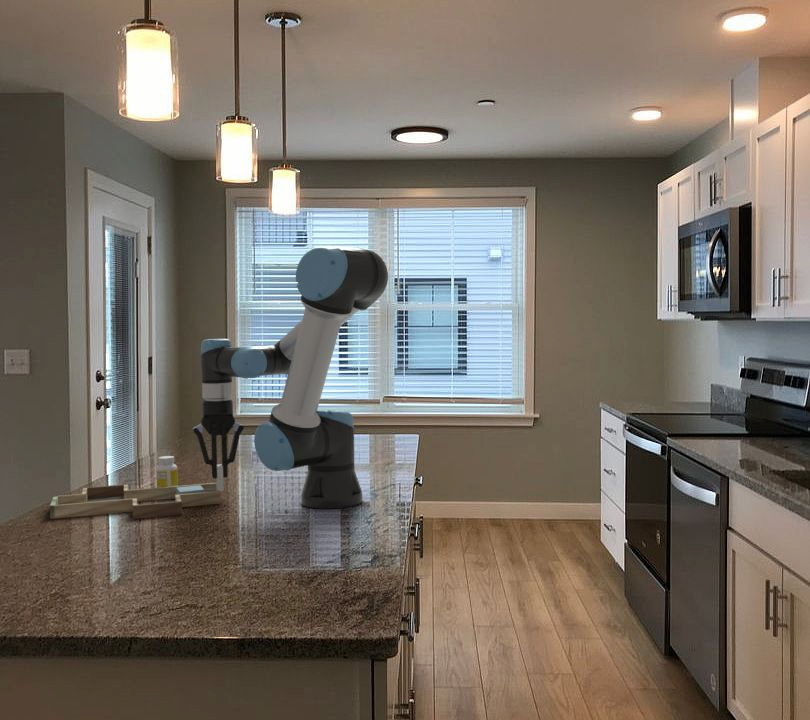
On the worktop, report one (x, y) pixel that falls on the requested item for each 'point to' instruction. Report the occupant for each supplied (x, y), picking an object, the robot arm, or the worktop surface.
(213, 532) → the worktop surface
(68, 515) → the wooden frame tray
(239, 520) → the worktop surface
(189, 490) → the block
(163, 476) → the supplement bottle
